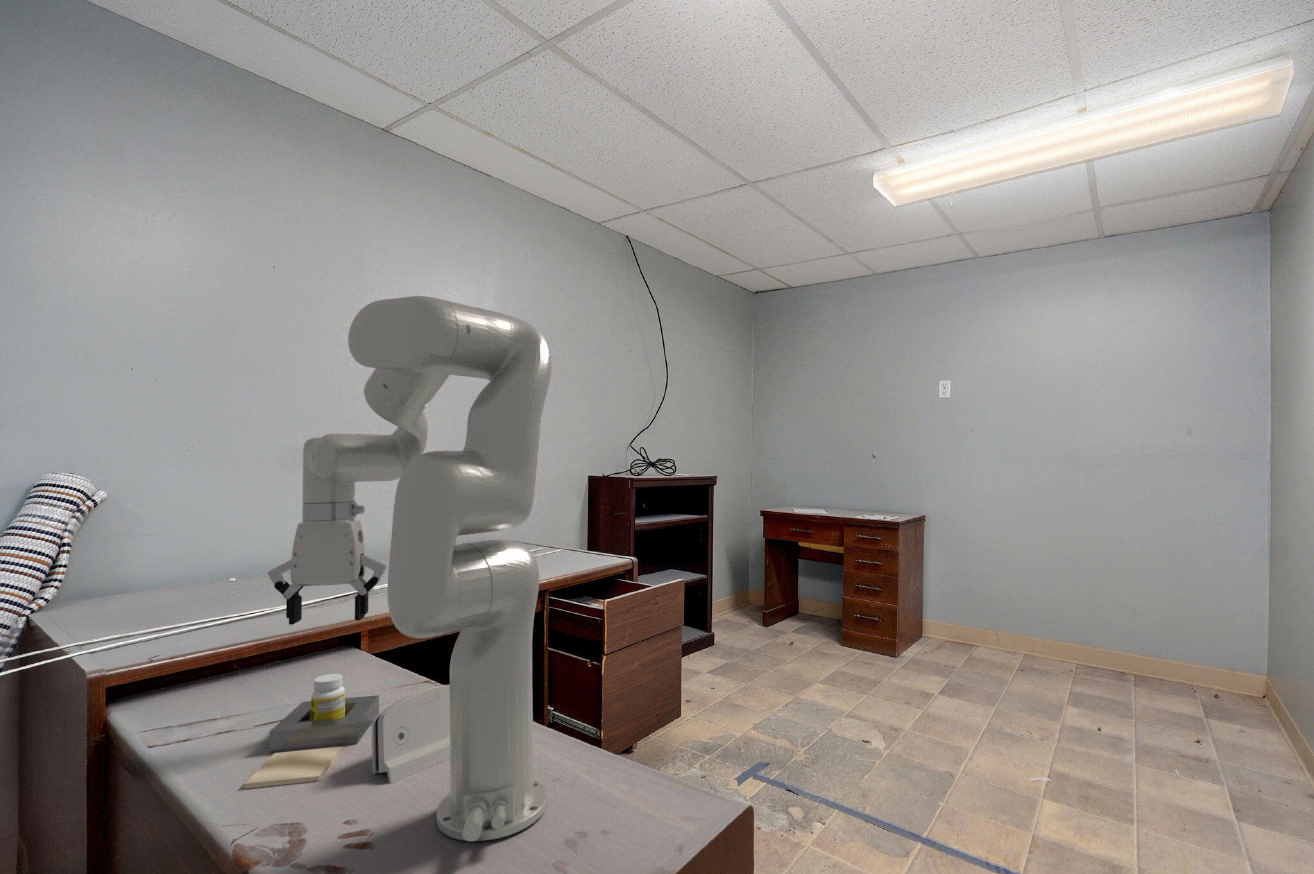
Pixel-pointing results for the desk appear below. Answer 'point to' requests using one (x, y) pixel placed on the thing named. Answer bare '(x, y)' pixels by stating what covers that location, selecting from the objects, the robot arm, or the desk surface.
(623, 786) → the desk surface
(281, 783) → the pad
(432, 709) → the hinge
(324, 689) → the supplement bottle
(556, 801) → the desk surface
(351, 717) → the socket block
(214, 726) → the desk surface
